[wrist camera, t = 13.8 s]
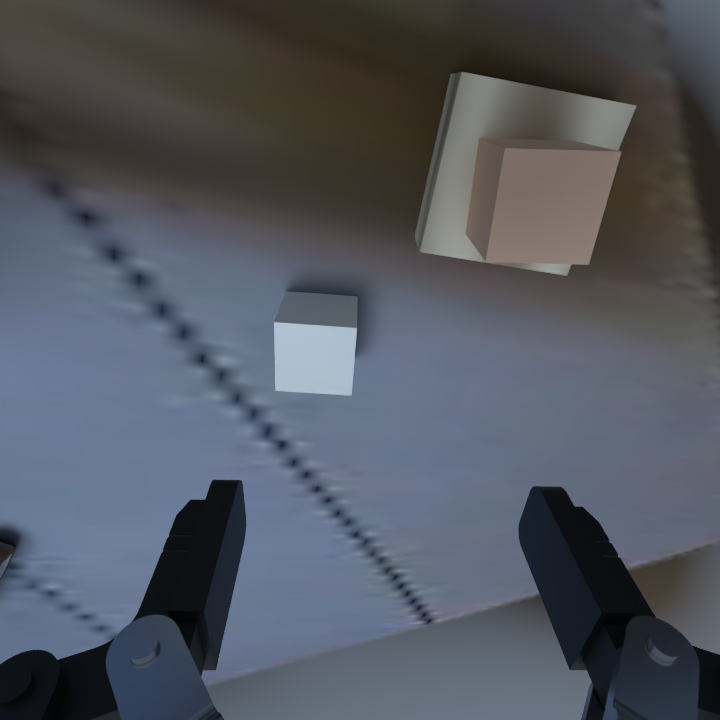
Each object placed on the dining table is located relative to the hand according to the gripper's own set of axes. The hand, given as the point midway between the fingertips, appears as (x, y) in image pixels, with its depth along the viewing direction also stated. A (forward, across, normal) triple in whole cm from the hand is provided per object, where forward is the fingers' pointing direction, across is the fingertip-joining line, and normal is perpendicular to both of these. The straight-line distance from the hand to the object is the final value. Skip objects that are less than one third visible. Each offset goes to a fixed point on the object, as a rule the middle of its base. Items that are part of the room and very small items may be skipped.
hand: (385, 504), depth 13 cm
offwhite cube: (+24, +3, +6) cm, 25 cm away
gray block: (+24, -9, -6) cm, 26 cm away
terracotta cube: (+20, -9, -5) cm, 22 cm away
